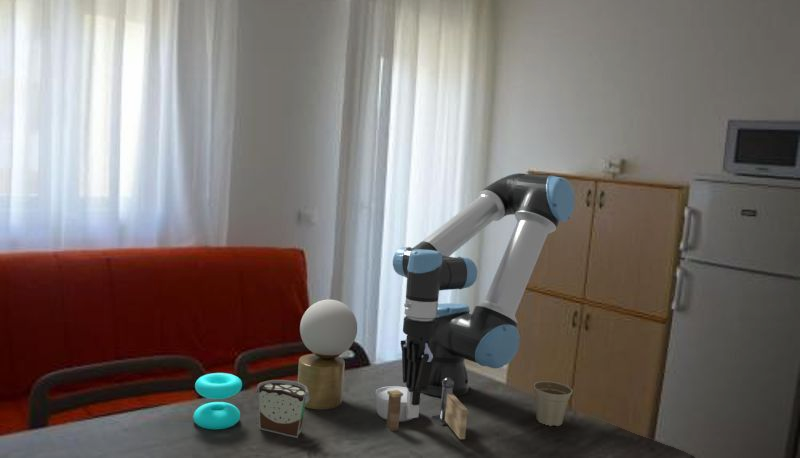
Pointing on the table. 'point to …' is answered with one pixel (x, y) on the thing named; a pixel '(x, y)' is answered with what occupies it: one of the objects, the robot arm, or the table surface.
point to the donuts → (217, 412)
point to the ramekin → (383, 400)
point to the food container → (282, 406)
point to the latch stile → (393, 409)
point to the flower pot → (551, 402)
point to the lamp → (325, 351)
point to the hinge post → (444, 400)
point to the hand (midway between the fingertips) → (411, 416)
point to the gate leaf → (456, 415)
